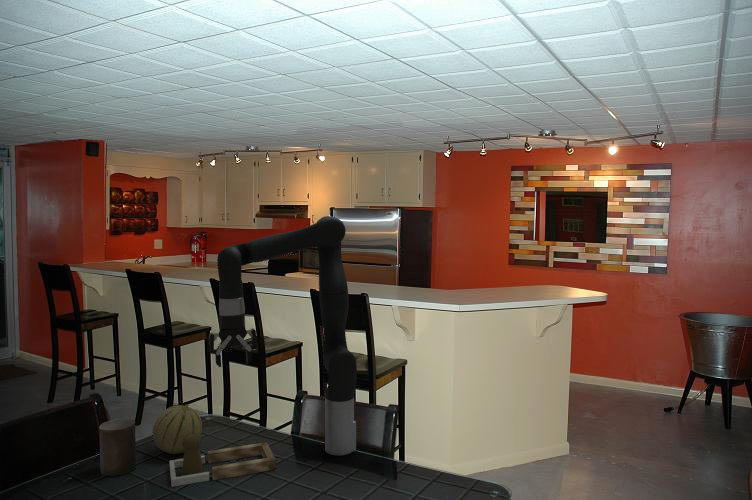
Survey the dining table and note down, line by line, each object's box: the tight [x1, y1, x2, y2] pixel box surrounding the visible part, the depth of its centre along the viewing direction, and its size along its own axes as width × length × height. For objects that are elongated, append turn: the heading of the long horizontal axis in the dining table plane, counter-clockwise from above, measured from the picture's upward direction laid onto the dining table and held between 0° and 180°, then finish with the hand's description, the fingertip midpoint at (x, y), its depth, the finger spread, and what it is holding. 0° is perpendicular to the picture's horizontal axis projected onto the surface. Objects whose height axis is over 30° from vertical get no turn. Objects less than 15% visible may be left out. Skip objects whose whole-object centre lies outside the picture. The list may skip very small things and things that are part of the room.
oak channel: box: [207, 442, 277, 481], centre depth 165 cm, size 18×14×3 cm
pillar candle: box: [98, 418, 137, 477], centre depth 161 cm, size 10×10×15 cm
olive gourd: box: [181, 435, 204, 476], centre depth 159 cm, size 6×6×11 cm
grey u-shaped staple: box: [168, 455, 210, 488], centre depth 159 cm, size 10×13×2 cm
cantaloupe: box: [152, 403, 203, 455], centre depth 173 cm, size 15×15×15 cm
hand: (233, 364), depth 167 cm, fingers open, 8 cm apart
